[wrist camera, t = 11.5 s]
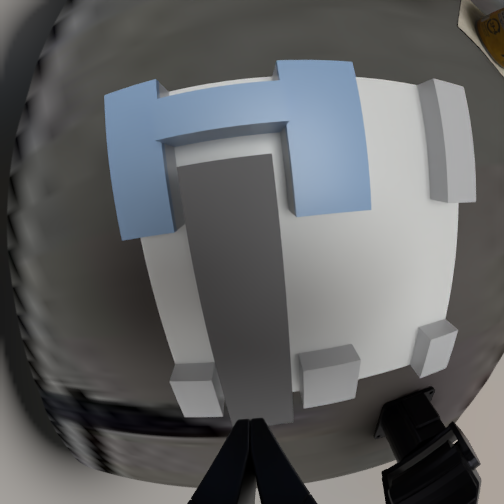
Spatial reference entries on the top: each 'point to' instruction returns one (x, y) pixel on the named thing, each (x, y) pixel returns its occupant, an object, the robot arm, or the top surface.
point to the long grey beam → (241, 281)
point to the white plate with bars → (308, 214)
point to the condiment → (484, 31)
